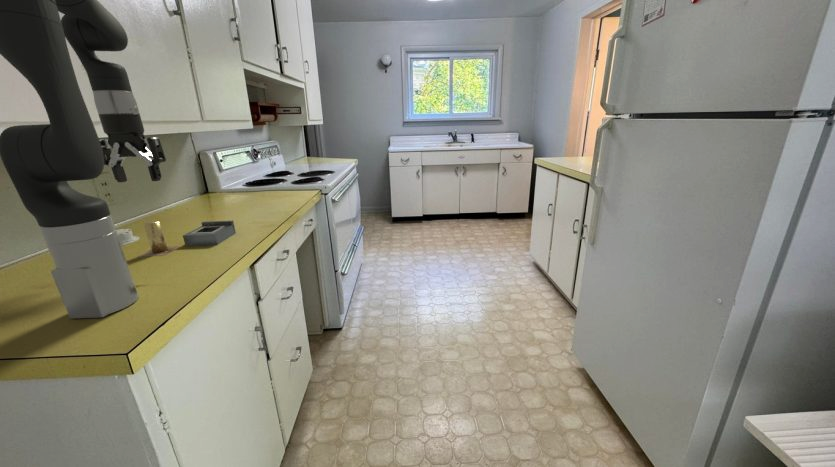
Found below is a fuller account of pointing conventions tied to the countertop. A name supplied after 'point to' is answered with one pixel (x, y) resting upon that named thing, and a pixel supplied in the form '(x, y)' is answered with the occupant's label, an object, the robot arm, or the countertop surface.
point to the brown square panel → (149, 253)
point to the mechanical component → (126, 236)
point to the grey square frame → (210, 233)
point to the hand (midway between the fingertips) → (139, 181)
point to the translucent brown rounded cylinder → (155, 236)
